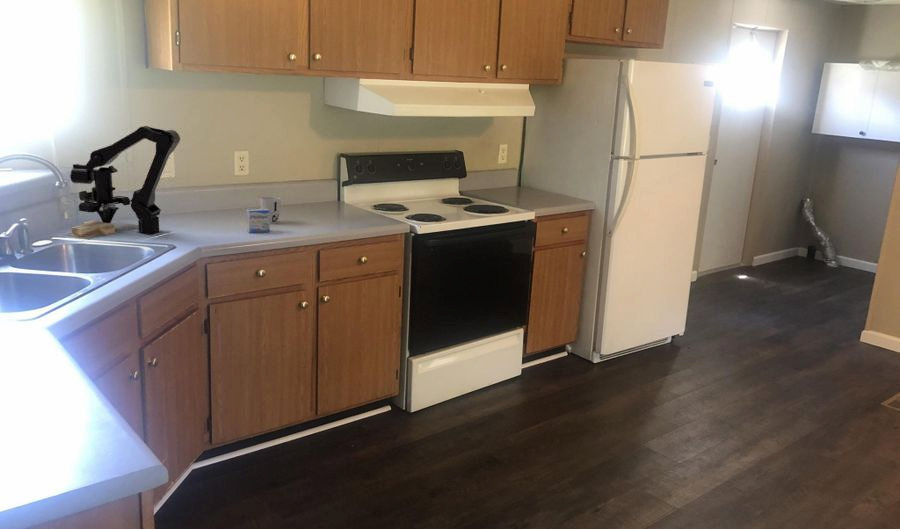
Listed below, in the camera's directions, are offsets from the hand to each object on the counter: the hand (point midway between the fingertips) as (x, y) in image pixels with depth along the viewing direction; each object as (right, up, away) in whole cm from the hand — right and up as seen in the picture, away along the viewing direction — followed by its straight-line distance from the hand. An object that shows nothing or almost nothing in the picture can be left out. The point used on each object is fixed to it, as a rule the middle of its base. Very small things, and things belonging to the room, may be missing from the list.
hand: (106, 227), depth 262 cm
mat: (0, -2, -1) cm, 2 cm away
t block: (-3, -3, -6) cm, 7 cm away
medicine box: (+52, -1, +14) cm, 53 cm away
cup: (+52, +3, +30) cm, 60 cm away
